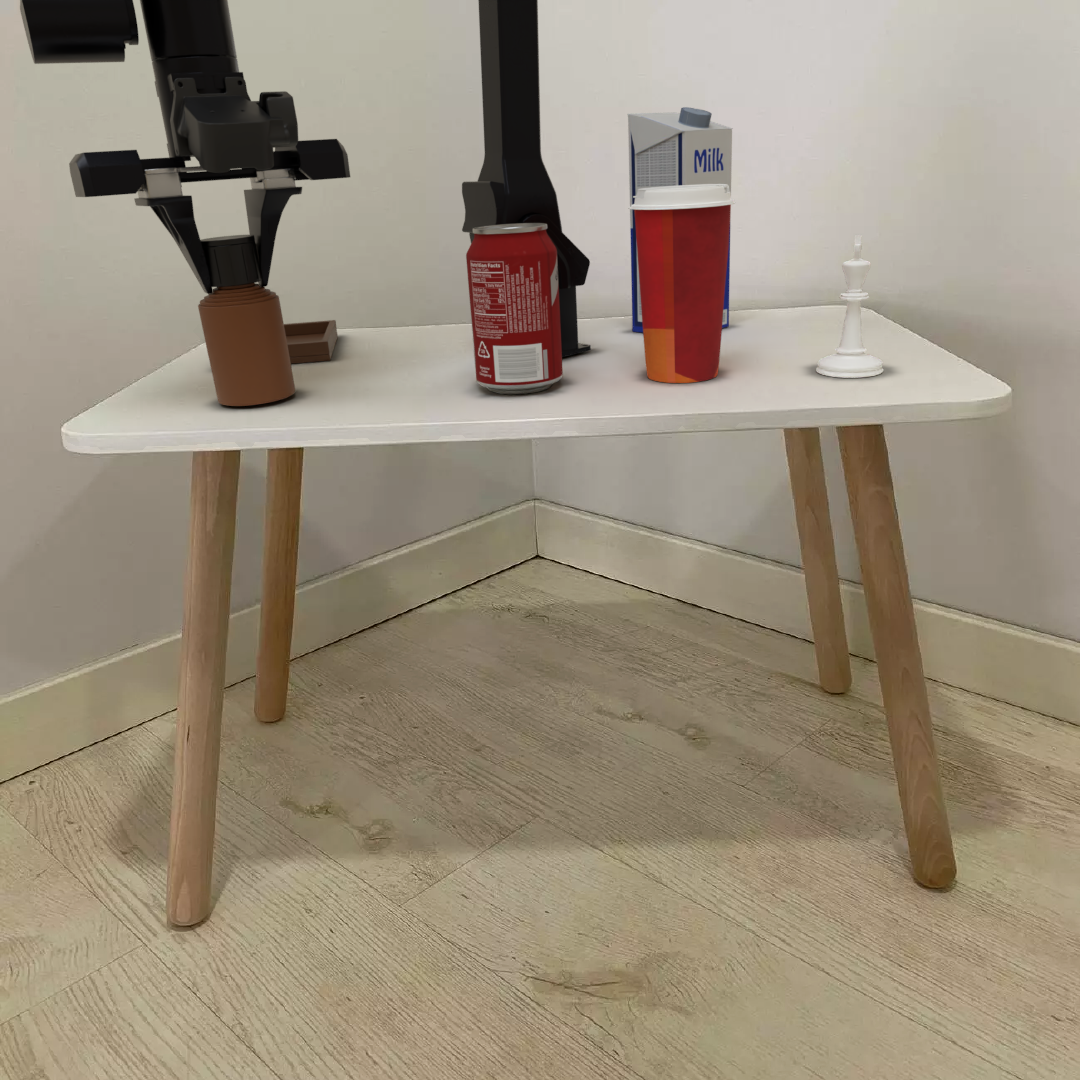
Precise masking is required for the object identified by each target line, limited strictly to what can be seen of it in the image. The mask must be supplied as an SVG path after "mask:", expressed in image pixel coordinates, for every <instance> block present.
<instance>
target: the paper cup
mask: <svg viewBox="0 0 1080 1080" xmlns="http://www.w3.org/2000/svg"><path fill="white" fill-rule="evenodd" d="M633 198H635V202H634V204H633V205H631V207H630V206H628V209H629V210H630V209H634V211H635V225H636V239H637V253H638V268H639V282H640V296H641V310H642V324H643V333H642V334H643V335H642V336H643V349H644V357H645V358H644V360H645V369H646V375H647V378H648V379H649V380H651V381H655V382H659V383H667V384H668V383H669V384H691V383H697V382H705V381H709V380H712V379H715V378H716V377H718V374H719V366H720V358H721V345H722V335H723V334H722V333H723V328H722V321H723V307H724V294H725V282H726V271H727V259H728V248H729V230H730V231H731V221H730V212H731V213H732V211H731V210H732V205H735V204H736V202H735V199H734V198H732V193H731V194H730V191H729V186H728V184H700V185H680V186H664V187H651V188H642V189H638V192H637V195H636V196H633Z"/></svg>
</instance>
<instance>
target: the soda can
mask: <svg viewBox="0 0 1080 1080" xmlns="http://www.w3.org/2000/svg"><path fill="white" fill-rule="evenodd" d="M546 229H547V224H545V223H517V224H500V225H489V226H481V227H476V228H473V233H474V239H473V241H472V243H471V242H470V245H469V247H468V249H467V252H466V253H465V254H466V255H465V259H466V270H467V283H468V295H469V297H468V298H469V305H470V306H469V307H470V308H469V309H470V321H471V334H472V346H473V357H474V369H475V380H476V381H475V382H476V383H477V385H479V386H480V387H484V388H487V390H488V391H489V392H491V393H494V394H499V395H525V394H534V393H539V392H542V391H546V390H547V389H550V388H551V387H552V386H553V384H555V383H557V382H559V381H561V379H562V378H563V372H564V371H563V357H562V349H561V328H560V306H559V285H558V263H557V249H556V247H555V245H554V244H553V242H552V241H551V239H550V238H549V236H548V235H547V233H546Z"/></svg>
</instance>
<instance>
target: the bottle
mask: <svg viewBox="0 0 1080 1080" xmlns="http://www.w3.org/2000/svg"><path fill="white" fill-rule="evenodd" d="M197 307H198V313H199V318H200V323H201V327H202V333H203V336H204V337H203V338H204V341H205V347H206V351H207V356H208V361H209V365H210V370H211V375H212V380H213V385H214V390H215V393H216V398H217V399H216V400H217V402H218V404H219V405H221V406H223V405H224V406H227V407H229V406H231V407H245V406H246V407H247V406H256V405H263V404H268V403H273V402H278V401H280V400H284V399H287V398H289V397H291V396H293V395H294V394H295V393H296V386H295V379H294V374H293V369H292V364H291V362H290V357H289V351H288V346H287V340H286V334H285V329H284V324H285V323H284V318H283V317H284V316H283V312H282V307H281V301H280V296H279V295H278V294H277V292H276V291H271V289H269V288H266V286H265V287H262V286H260V285H259V284H258V283H257V282H256V283H251V284H245V285H238V286H228V287H213V288H212V293H209V294H207V295H205V296H204V297H203V299H201V300H199V303H198V304H197Z"/></svg>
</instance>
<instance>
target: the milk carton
mask: <svg viewBox="0 0 1080 1080" xmlns="http://www.w3.org/2000/svg"><path fill="white" fill-rule="evenodd" d="M711 119H712V112H710V111H708V110H704V109H700V108H695V107H688V106H686V107H685V106H684V107H680V112H647V113H646V112H645V113H644V112H641V113H627V123H628V125H627V127H628V129H627V132H628V175H629V177H628V179H629V180H628V181H629V183H628V184H629V207H631V205H633V204H634V202H635V198H633V196H636V195H637V192H638V189H642V188H651V187H664V186H680V185H700V184H728V186H729V191H730V194H731V195H732V161H733V160H732V159H733V158H732V156H733V154H732V153H733V129H734V128H733V127H730V126H726V125H724V124H721V123H718V122H715V121H712V120H711ZM731 215H732V211H731V212H730V222H731V221H732V220H731V218H732V217H731ZM629 224H630V225H629V226H630V227H629V231H630V232H629V233H630V274H631V275H630V278H631V279H630V280H631V282H630V283H631V320H632V321H631V329H632V332H633V333H641V334H643V324H642V310H641V296H640V282H639V268H638V253H637V239H636V225H635V211H634V209H629ZM730 265H731V229H730V230H729V248H728V259H727V271H726V282H725V294H724V307H723V321H722V329H725V328H729V327H730V326H729V325H730V277H731V276H730V273H731V271H730V270H731V269H730V268H731V266H730Z"/></svg>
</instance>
